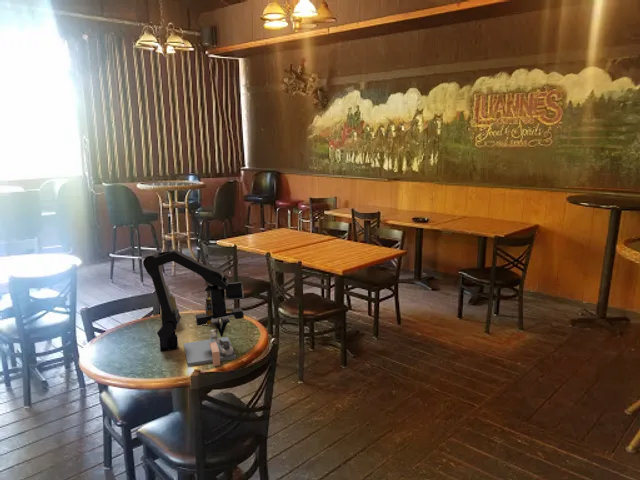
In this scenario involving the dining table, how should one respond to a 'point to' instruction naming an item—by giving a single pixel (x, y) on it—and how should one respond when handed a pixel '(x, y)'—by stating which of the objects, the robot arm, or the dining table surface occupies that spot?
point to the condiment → (208, 300)
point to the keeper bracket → (215, 353)
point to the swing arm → (221, 343)
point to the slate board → (203, 352)
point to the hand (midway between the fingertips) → (221, 336)
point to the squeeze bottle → (171, 301)
